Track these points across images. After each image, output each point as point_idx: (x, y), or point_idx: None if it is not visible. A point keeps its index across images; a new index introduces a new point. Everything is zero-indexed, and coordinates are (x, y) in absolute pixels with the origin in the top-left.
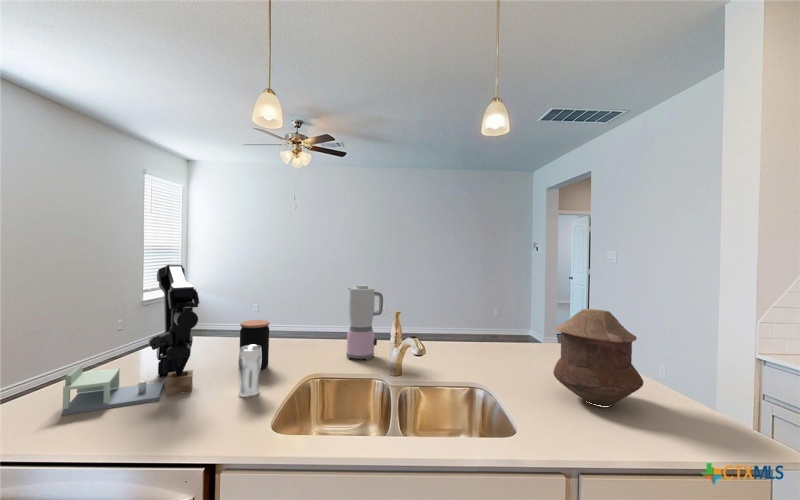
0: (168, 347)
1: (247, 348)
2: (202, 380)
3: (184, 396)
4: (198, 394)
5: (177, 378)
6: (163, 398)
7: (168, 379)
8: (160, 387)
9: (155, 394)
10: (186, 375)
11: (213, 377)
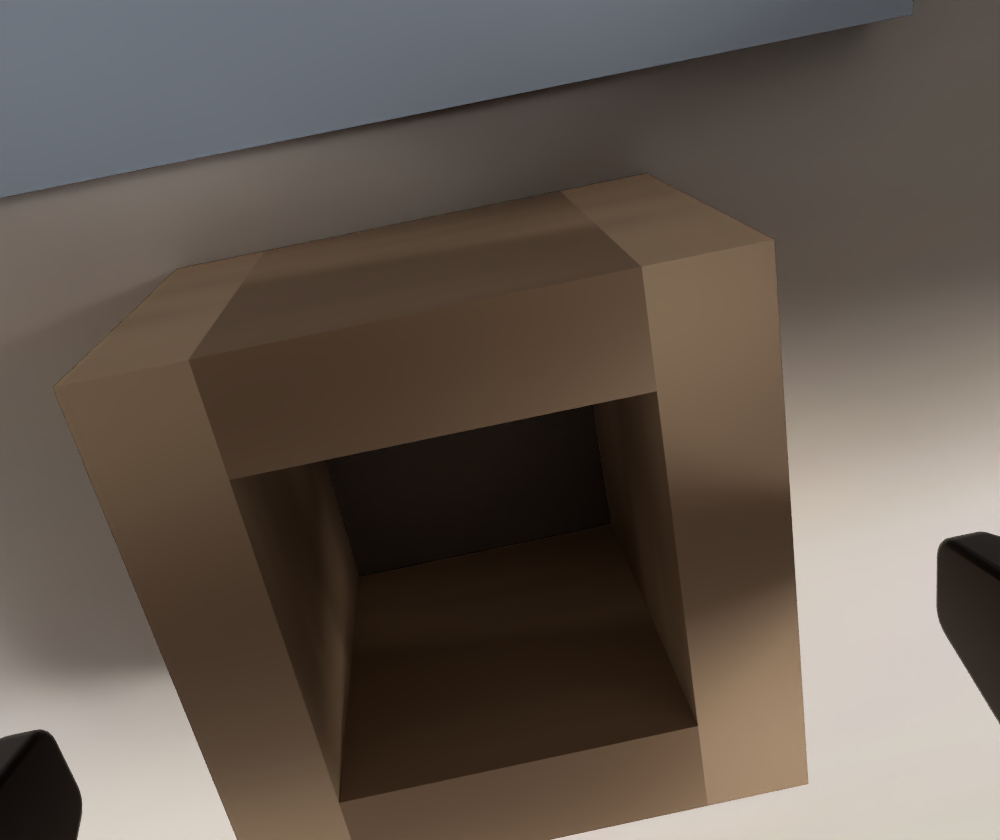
0: None
1: None
2: (832, 675)
3: (85, 610)
4: (154, 781)
5: (157, 641)
6: (12, 277)
7: (83, 442)
8: (501, 63)
9: (36, 95)
10: (665, 629)
11: (916, 791)
